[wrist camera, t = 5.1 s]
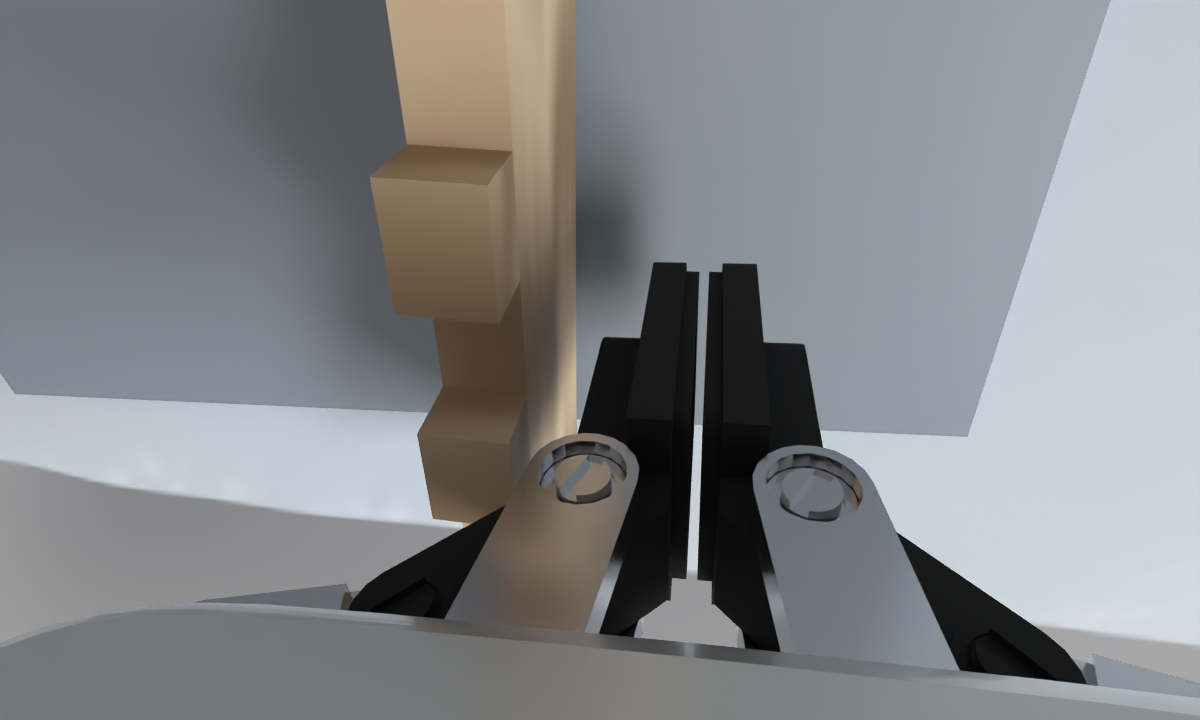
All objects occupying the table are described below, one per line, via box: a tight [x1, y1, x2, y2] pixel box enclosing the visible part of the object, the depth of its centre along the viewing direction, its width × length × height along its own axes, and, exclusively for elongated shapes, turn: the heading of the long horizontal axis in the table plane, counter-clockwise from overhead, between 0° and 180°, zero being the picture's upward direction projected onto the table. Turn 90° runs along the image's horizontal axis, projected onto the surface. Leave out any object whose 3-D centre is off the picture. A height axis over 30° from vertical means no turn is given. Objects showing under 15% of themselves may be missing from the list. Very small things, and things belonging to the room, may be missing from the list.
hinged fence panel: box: [370, 0, 577, 528], centre depth 10 cm, size 14×2×6 cm, turn 179°
